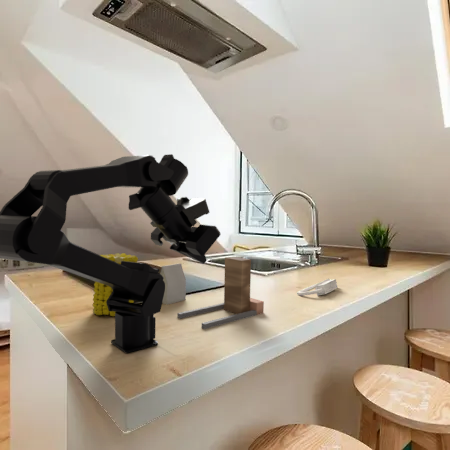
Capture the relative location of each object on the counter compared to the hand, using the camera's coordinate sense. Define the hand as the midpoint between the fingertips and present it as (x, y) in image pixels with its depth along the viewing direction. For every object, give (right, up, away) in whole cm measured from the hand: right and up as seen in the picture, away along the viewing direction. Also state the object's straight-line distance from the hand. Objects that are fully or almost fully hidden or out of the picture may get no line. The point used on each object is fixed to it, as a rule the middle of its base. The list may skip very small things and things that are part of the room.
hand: (204, 261), depth 80 cm
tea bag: (-10, -13, +18) cm, 24 cm away
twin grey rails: (+4, -13, +6) cm, 15 cm away
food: (-22, -13, +7) cm, 26 cm away
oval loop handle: (+34, -13, +33) cm, 49 cm away
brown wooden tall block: (+7, -13, +9) cm, 17 cm away
